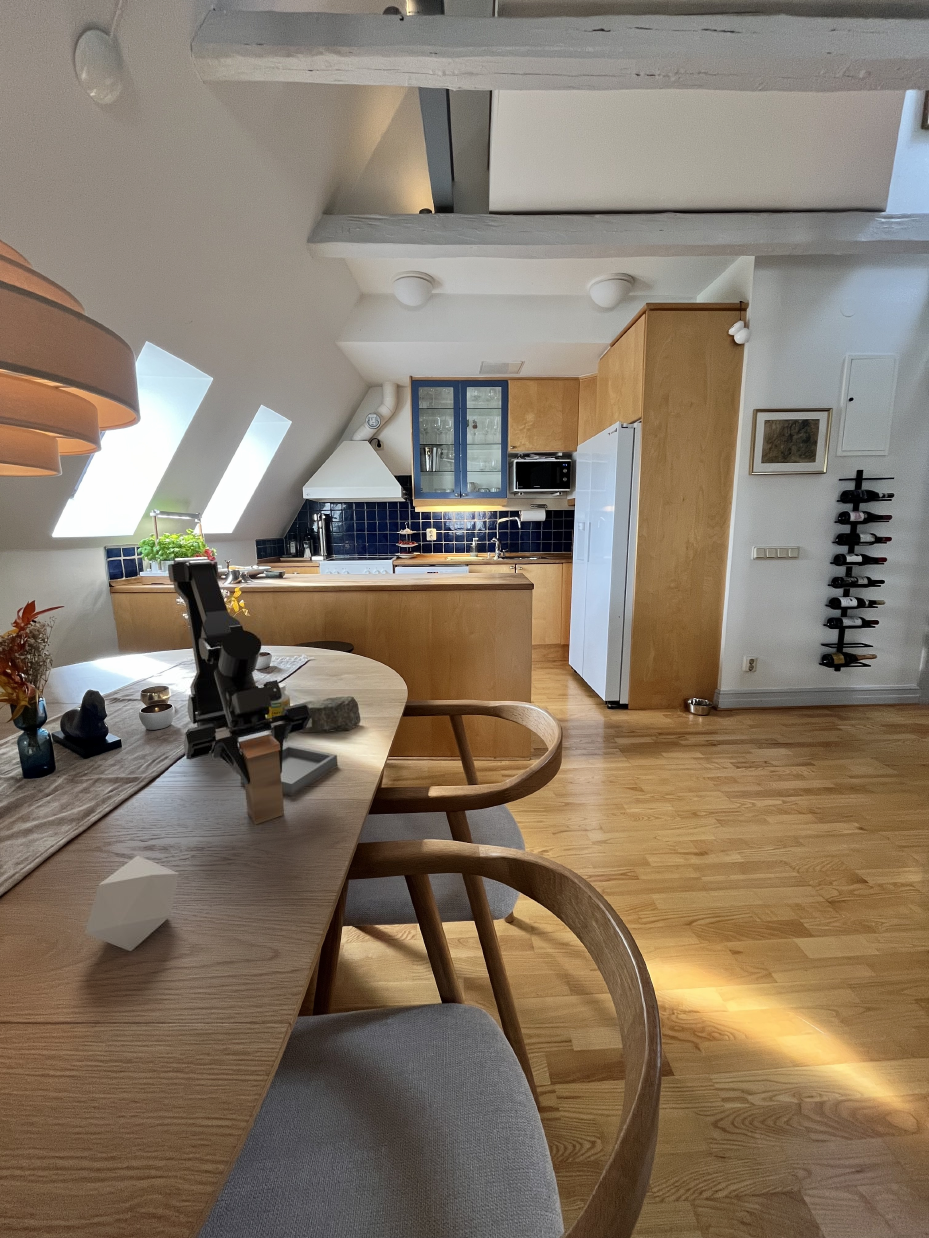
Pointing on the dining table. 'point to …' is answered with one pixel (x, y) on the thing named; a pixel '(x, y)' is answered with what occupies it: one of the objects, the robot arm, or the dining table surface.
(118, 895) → the die
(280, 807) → the brown block
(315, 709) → the stone
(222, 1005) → the dining table surface
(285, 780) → the tray
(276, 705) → the supplement bottle
